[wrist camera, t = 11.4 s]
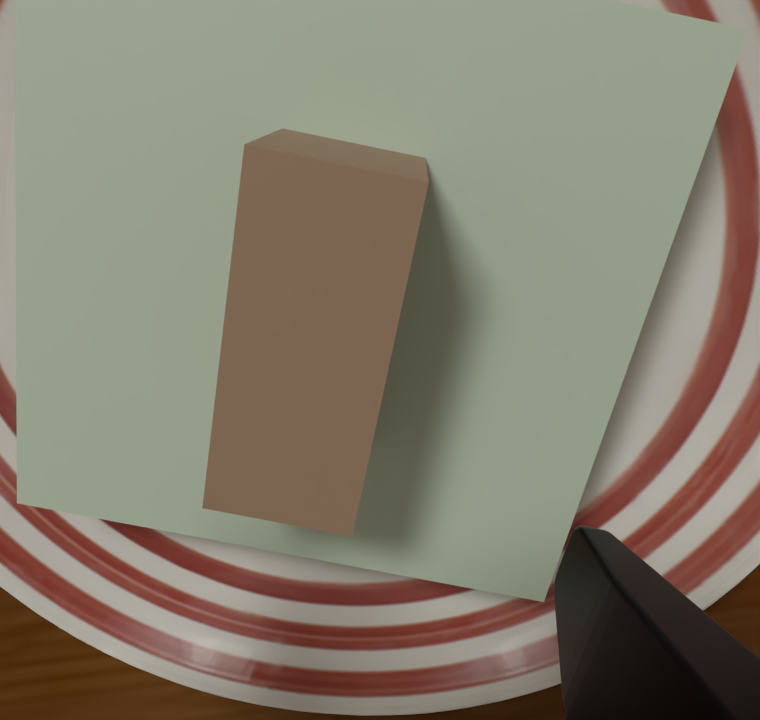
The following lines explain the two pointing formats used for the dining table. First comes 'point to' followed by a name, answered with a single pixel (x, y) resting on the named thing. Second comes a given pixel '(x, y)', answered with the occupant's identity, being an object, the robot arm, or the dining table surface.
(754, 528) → the dinner plate
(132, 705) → the dining table surface
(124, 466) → the cover
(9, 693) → the dining table surface
